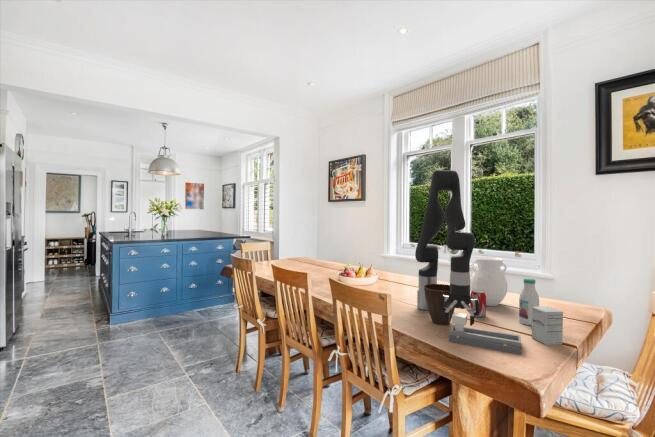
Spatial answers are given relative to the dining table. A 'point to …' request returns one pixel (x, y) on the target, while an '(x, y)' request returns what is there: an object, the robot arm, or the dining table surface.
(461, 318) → the fader knob
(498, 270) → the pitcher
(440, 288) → the plant pot
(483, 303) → the soda can
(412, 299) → the dining table surface
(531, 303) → the milk bottle
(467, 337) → the fader console
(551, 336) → the supplement box
